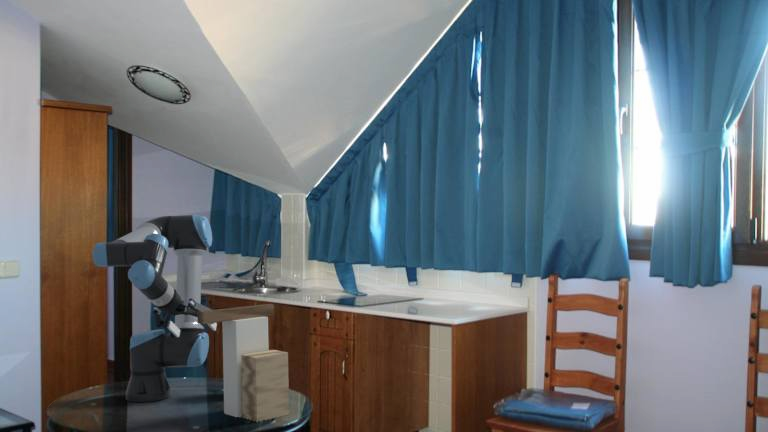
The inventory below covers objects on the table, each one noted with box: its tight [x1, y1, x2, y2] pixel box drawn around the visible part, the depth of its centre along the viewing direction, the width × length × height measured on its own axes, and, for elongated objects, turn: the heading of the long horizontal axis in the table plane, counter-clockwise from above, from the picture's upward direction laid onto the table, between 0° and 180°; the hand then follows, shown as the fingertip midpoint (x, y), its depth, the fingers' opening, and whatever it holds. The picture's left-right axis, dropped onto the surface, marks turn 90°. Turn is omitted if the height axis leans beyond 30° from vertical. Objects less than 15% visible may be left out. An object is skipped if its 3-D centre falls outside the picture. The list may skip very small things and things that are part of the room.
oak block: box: [241, 349, 290, 423], centre depth 228 cm, size 8×12×20 cm, turn 134°
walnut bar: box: [198, 303, 275, 325], centre depth 232 cm, size 4×26×4 cm, turn 134°
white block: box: [221, 316, 270, 418], centre depth 234 cm, size 8×12×30 cm, turn 134°
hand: (197, 330), depth 243 cm, fingers open, 13 cm apart
